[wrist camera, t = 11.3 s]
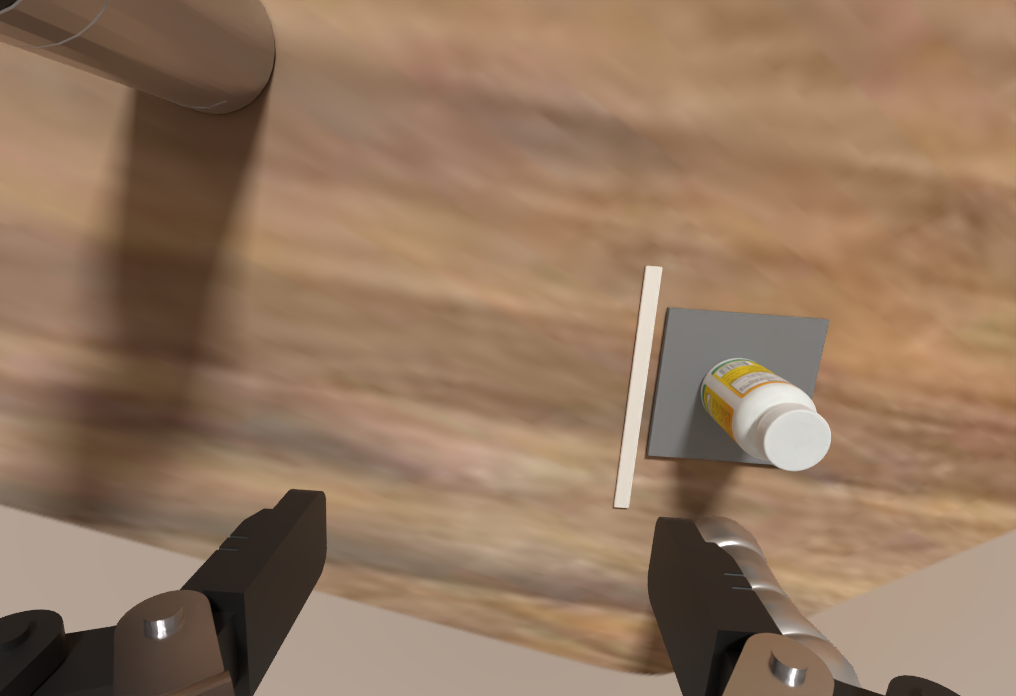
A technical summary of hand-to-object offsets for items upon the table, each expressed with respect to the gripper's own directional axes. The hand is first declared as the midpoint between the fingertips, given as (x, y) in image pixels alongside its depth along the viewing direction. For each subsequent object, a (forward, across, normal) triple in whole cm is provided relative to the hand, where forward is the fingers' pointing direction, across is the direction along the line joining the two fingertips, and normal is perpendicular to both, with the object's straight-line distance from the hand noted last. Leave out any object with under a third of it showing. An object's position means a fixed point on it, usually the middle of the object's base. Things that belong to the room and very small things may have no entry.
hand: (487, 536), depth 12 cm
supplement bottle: (+28, -18, +4) cm, 33 cm away
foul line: (+28, -10, +5) cm, 30 cm away
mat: (+28, -18, +4) cm, 34 cm away
